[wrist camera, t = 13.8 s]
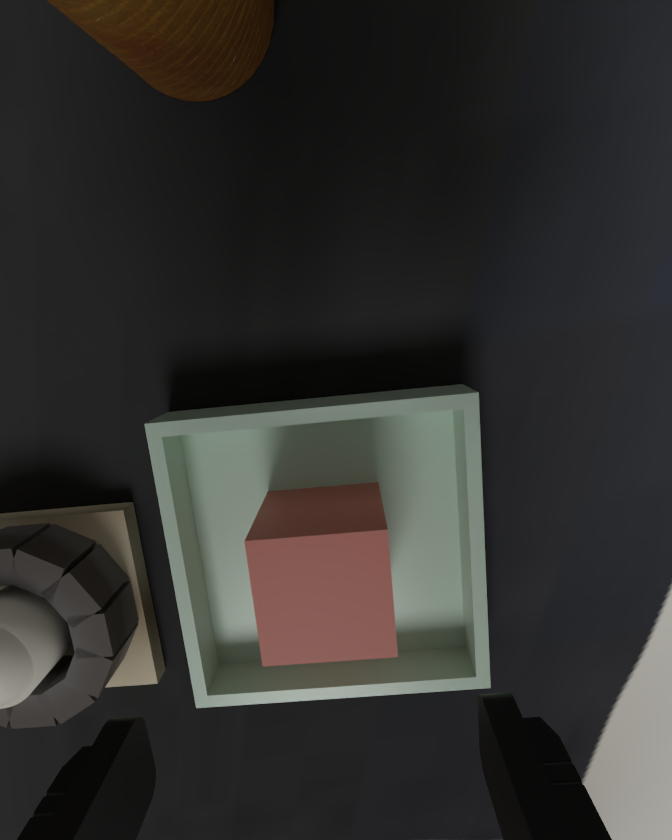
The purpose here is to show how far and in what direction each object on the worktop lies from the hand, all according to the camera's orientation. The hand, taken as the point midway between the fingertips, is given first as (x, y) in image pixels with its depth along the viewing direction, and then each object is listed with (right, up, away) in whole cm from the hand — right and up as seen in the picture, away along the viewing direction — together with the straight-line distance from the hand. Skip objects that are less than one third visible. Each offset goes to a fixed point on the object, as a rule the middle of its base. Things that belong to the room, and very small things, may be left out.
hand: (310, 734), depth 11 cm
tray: (0, +2, +11) cm, 11 cm away
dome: (-13, -2, +10) cm, 17 cm away
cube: (0, +2, +11) cm, 11 cm away
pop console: (-13, -1, +12) cm, 18 cm away
